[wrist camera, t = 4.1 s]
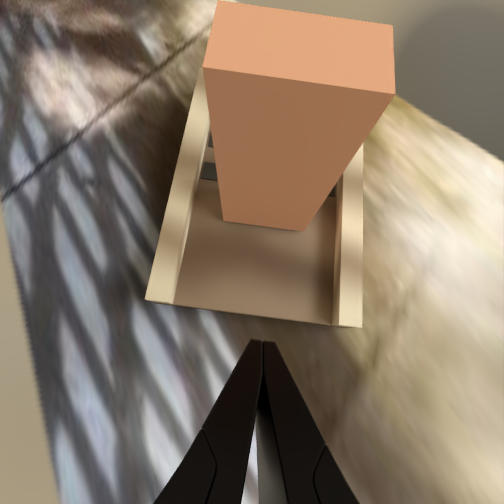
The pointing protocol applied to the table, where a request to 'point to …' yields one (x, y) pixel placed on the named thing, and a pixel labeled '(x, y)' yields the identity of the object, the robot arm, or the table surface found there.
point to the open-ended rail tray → (256, 245)
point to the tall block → (290, 106)
